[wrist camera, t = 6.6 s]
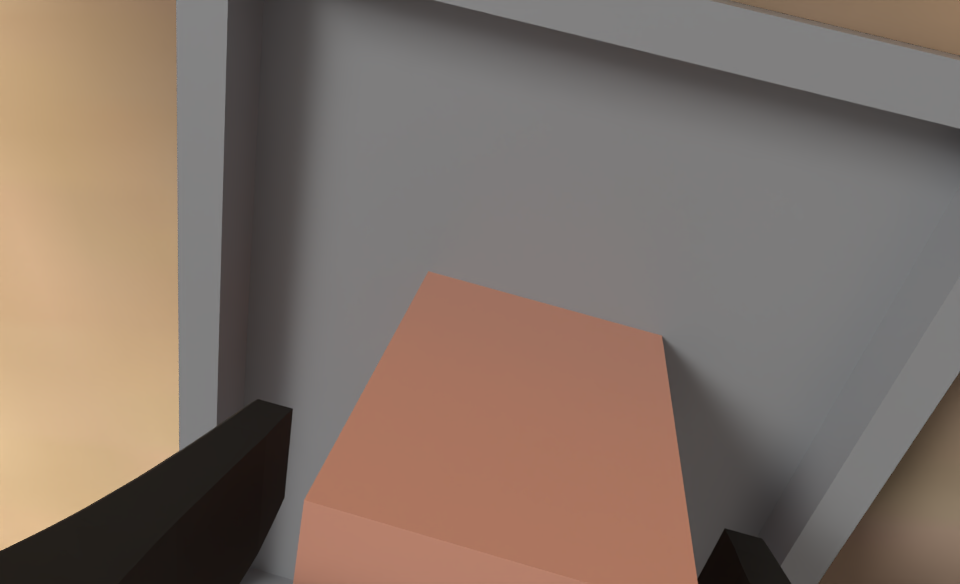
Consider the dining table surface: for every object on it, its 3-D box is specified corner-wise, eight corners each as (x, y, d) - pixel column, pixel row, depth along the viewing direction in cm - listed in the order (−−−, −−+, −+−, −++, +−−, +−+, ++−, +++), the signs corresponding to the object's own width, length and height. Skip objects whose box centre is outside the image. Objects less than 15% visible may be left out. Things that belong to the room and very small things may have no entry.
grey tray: (687, 693, 18) (695, 766, 16) (217, 557, 18) (180, 614, 17) (1057, 78, 10) (1139, 103, 9) (238, -118, 11) (175, -128, 9)
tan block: (591, 507, 15) (583, 820, 9) (391, 449, 15) (274, 724, 10) (662, 335, 13) (702, 615, 7) (428, 271, 13) (303, 500, 8)
